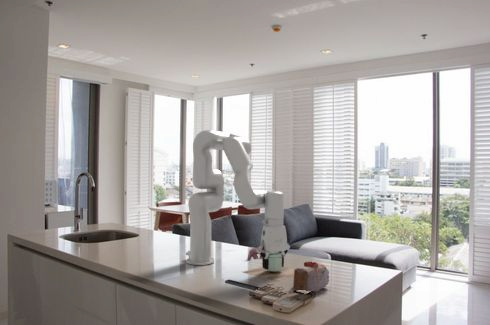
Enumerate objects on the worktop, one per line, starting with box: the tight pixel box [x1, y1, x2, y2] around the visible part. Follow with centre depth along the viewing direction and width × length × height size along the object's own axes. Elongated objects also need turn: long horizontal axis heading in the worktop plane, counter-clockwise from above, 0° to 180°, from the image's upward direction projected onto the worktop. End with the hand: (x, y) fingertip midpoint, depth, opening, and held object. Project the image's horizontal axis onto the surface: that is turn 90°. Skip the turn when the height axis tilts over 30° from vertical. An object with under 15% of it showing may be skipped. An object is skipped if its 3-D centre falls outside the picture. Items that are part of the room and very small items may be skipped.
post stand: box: [242, 266, 295, 282], centre depth 157 cm, size 18×18×6 cm
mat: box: [224, 279, 261, 291], centre depth 145 cm, size 14×10×1 cm
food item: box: [292, 261, 330, 293], centre depth 139 cm, size 14×8×10 cm, turn 139°
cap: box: [265, 252, 282, 271], centre depth 157 cm, size 7×7×6 cm
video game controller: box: [247, 247, 263, 262], centre depth 184 cm, size 10×5×7 cm, turn 75°
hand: (273, 267), depth 157 cm, fingers closed on cap, 6 cm apart
